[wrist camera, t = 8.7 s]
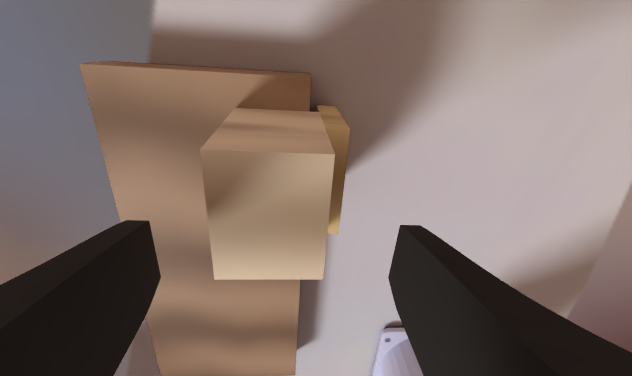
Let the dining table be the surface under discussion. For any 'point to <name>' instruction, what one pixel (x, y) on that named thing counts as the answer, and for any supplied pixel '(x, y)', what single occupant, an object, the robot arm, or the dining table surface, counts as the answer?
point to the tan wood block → (274, 191)
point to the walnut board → (193, 210)
